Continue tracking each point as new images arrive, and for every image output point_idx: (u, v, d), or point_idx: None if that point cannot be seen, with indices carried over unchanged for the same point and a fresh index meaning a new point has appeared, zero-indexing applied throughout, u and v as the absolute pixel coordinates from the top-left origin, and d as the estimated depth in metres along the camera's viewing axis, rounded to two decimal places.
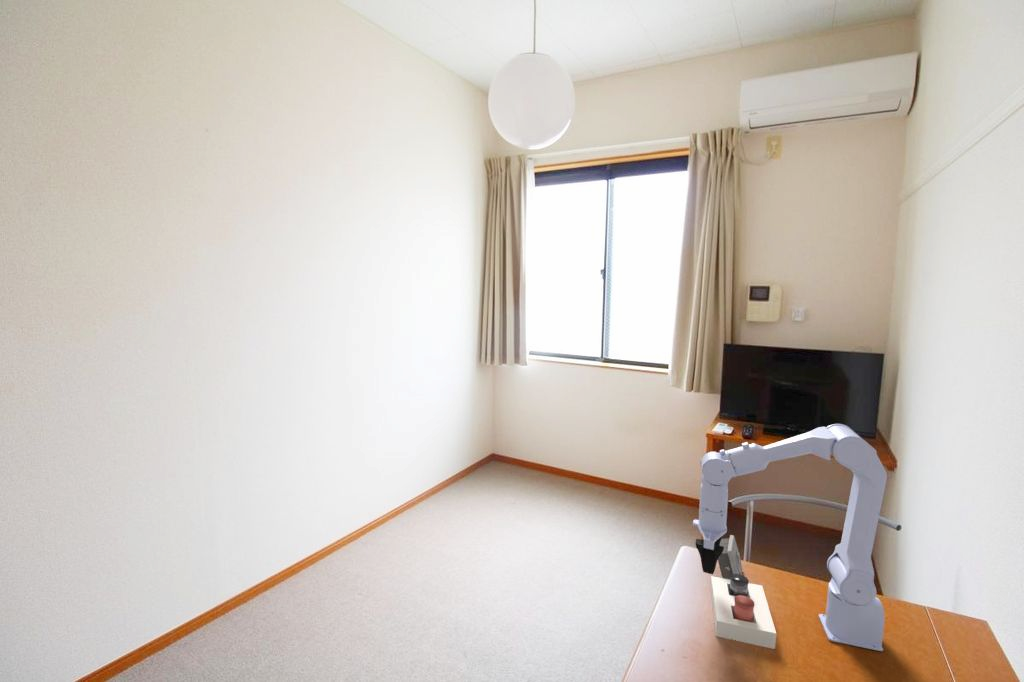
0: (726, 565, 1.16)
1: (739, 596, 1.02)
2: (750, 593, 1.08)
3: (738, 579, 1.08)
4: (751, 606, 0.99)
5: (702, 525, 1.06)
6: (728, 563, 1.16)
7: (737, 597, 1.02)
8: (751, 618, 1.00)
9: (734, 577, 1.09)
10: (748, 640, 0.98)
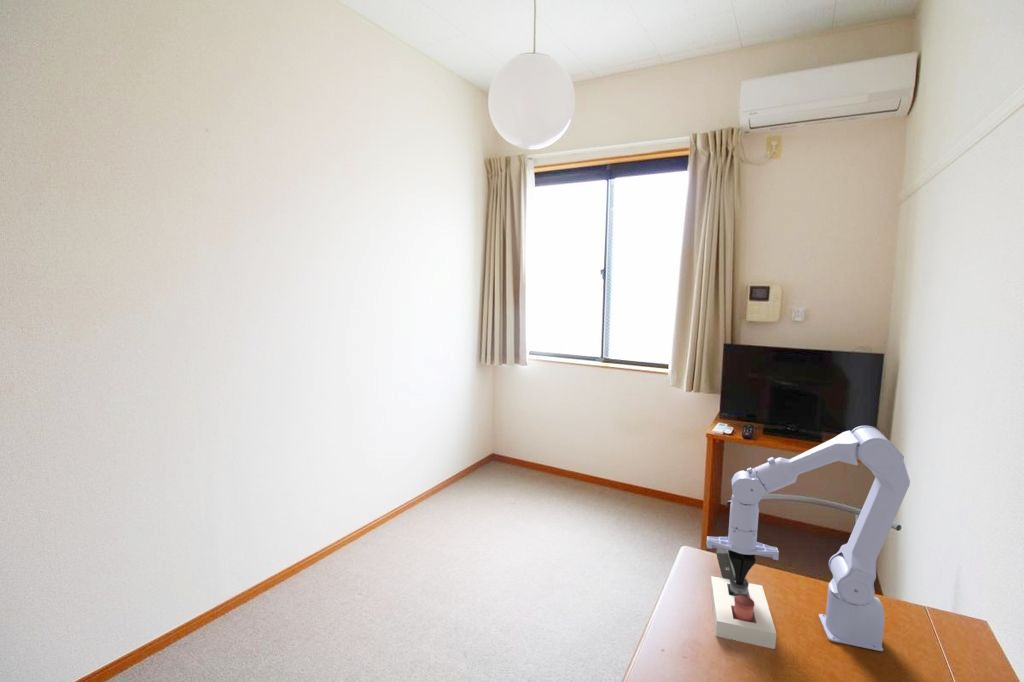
0: (726, 565, 1.16)
1: (739, 596, 1.02)
2: (750, 593, 1.08)
3: None
4: (751, 606, 0.99)
5: None
6: (728, 563, 1.16)
7: (737, 597, 1.02)
8: (751, 618, 1.00)
9: (734, 580, 1.09)
10: (748, 640, 0.98)
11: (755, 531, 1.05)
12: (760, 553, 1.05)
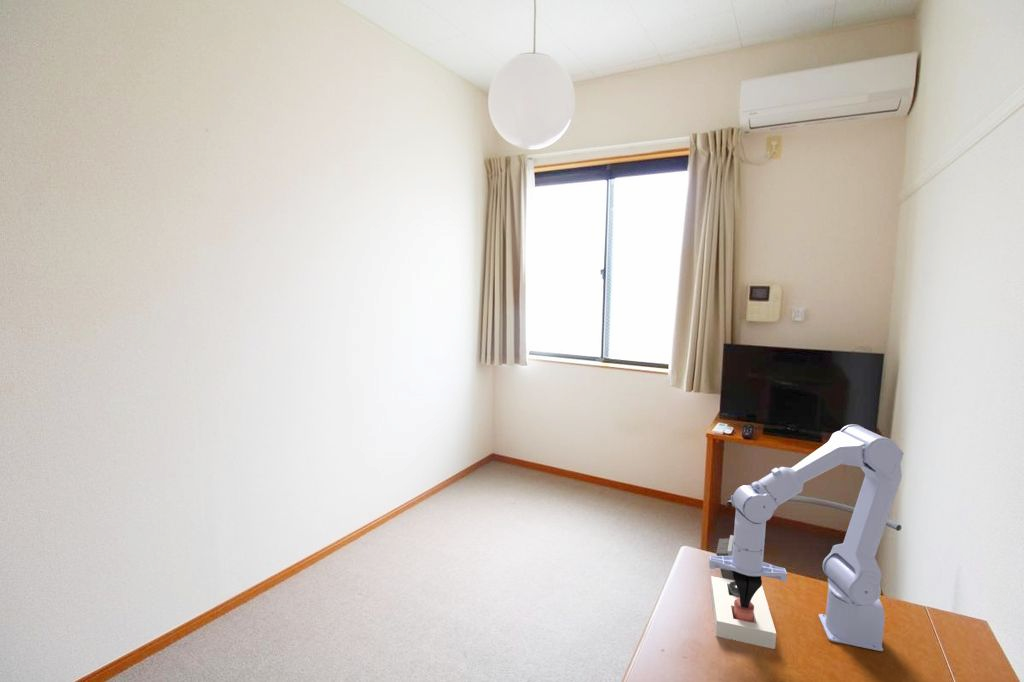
0: None
1: (739, 599, 1.03)
2: None
3: None
4: (751, 609, 0.99)
5: None
6: None
7: (736, 601, 1.02)
8: (751, 621, 1.00)
9: (733, 585, 1.09)
10: (748, 640, 0.98)
11: (761, 551, 0.97)
12: (767, 575, 0.97)
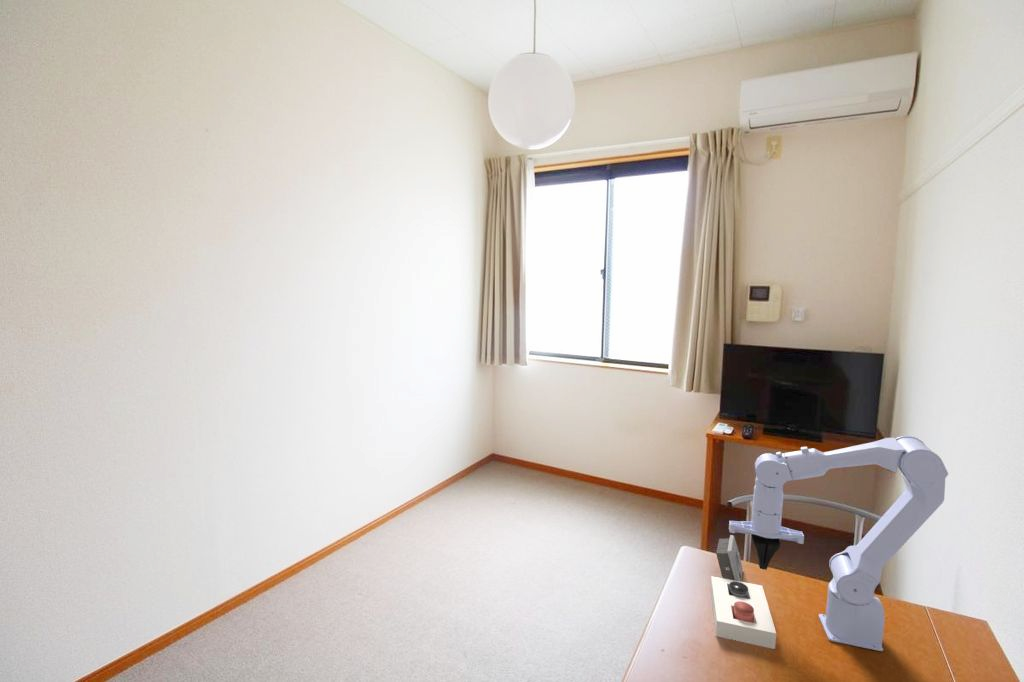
0: (726, 565, 1.16)
1: (739, 602, 1.03)
2: (750, 593, 1.08)
3: (737, 587, 1.09)
4: (751, 612, 1.00)
5: None
6: (728, 563, 1.16)
7: (736, 604, 1.02)
8: None
9: (733, 585, 1.09)
10: (748, 640, 0.98)
11: (780, 514, 1.03)
12: (785, 537, 1.03)
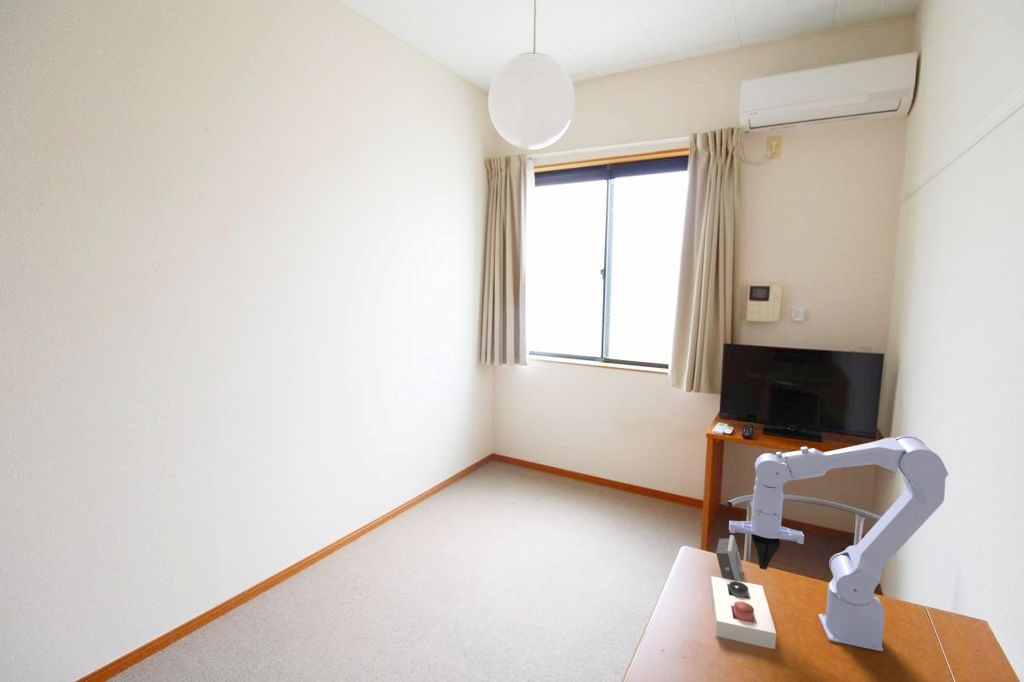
0: (726, 565, 1.16)
1: (739, 602, 1.03)
2: (750, 593, 1.08)
3: (737, 587, 1.09)
4: (751, 612, 1.00)
5: None
6: (728, 563, 1.16)
7: (736, 604, 1.02)
8: None
9: (733, 585, 1.09)
10: (748, 640, 0.98)
11: (780, 514, 1.03)
12: (785, 537, 1.03)
